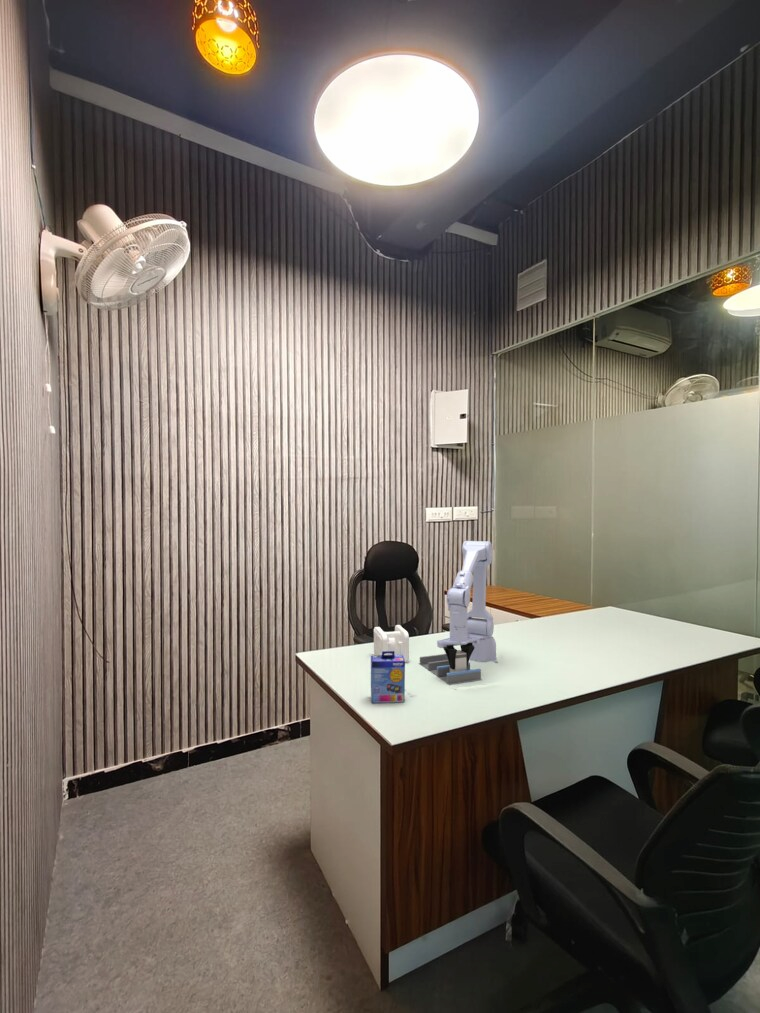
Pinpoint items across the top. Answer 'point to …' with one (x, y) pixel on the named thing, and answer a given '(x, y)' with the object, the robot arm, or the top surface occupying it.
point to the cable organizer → (392, 642)
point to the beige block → (460, 662)
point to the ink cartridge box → (387, 678)
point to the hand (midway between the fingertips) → (458, 667)
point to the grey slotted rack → (442, 670)
